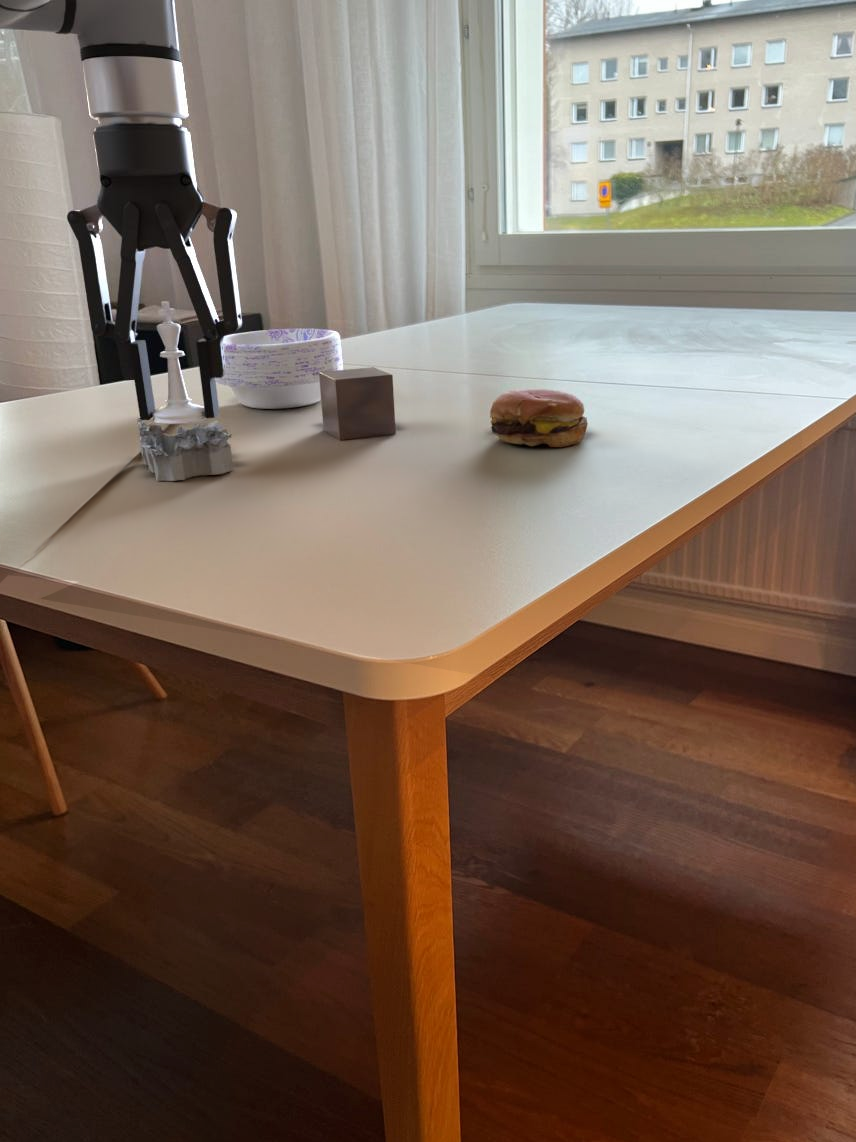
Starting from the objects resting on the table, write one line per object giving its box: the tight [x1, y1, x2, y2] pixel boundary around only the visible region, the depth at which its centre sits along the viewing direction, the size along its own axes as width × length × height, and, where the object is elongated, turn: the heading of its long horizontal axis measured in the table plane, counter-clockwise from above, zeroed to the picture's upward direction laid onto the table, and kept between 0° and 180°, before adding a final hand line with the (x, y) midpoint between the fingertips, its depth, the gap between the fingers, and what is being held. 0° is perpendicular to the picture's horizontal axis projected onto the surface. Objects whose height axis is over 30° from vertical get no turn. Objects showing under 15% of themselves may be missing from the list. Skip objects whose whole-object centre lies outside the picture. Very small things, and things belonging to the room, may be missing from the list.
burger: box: [489, 388, 588, 448], centre depth 97 cm, size 10×9×5 cm
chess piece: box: [151, 300, 208, 425], centre depth 87 cm, size 5×5×10 cm
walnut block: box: [319, 366, 397, 441], centre depth 102 cm, size 6×6×6 cm
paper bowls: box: [215, 328, 344, 410], centre depth 119 cm, size 15×15×8 cm
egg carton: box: [136, 417, 235, 482], centre depth 90 cm, size 11×8×4 cm
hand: (180, 415), depth 89 cm, fingers closed on chess piece, 5 cm apart
